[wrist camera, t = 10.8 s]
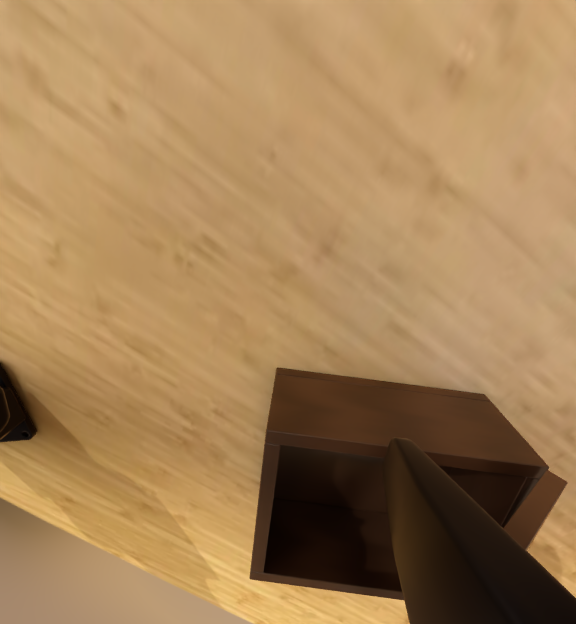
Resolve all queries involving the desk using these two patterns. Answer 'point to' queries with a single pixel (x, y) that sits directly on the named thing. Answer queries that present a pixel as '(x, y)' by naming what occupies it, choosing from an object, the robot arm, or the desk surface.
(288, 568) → the compartment
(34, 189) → the desk surface
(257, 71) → the desk surface
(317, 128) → the desk surface
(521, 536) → the box door
